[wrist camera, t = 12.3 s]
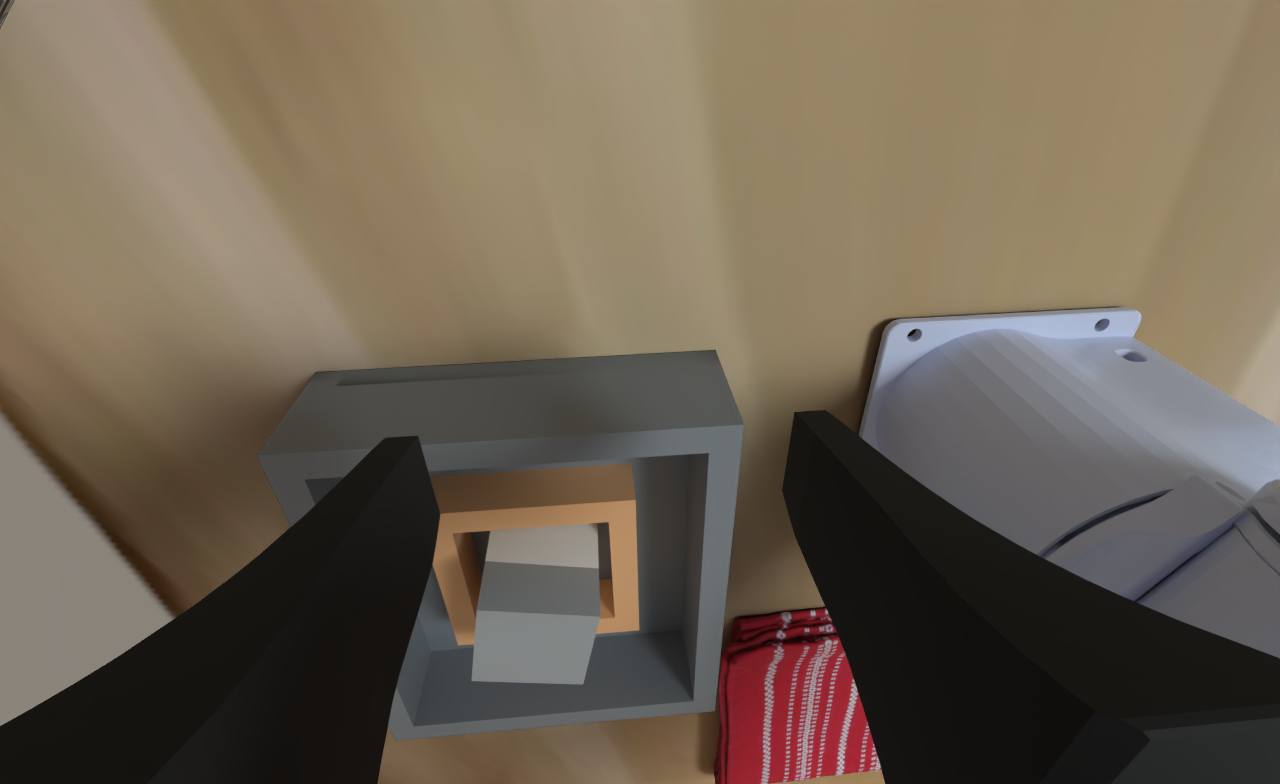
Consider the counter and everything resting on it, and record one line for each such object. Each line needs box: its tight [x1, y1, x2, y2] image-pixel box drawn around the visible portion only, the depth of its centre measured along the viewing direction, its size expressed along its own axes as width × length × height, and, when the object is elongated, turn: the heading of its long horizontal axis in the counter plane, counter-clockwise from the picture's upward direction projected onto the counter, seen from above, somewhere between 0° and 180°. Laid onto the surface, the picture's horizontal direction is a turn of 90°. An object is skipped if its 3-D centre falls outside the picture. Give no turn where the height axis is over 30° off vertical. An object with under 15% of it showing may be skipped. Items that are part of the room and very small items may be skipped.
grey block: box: [472, 523, 600, 684], centre depth 22 cm, size 4×4×5 cm
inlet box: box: [256, 350, 744, 741], centre depth 23 cm, size 14×16×4 cm
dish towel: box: [714, 608, 882, 784], centre depth 35 cm, size 17×24×3 cm
